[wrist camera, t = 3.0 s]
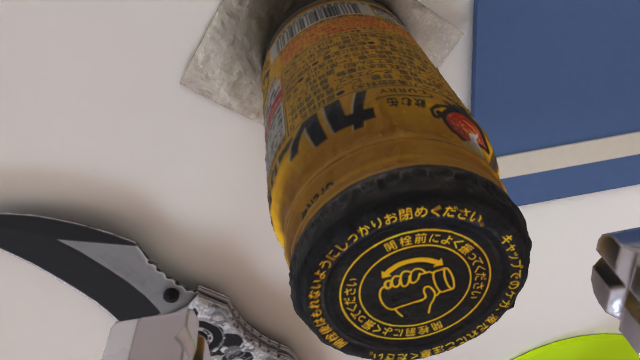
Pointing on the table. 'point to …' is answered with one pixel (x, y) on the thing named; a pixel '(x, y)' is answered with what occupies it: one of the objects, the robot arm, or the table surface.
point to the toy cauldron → (585, 349)
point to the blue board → (559, 94)
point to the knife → (130, 282)
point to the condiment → (370, 171)
